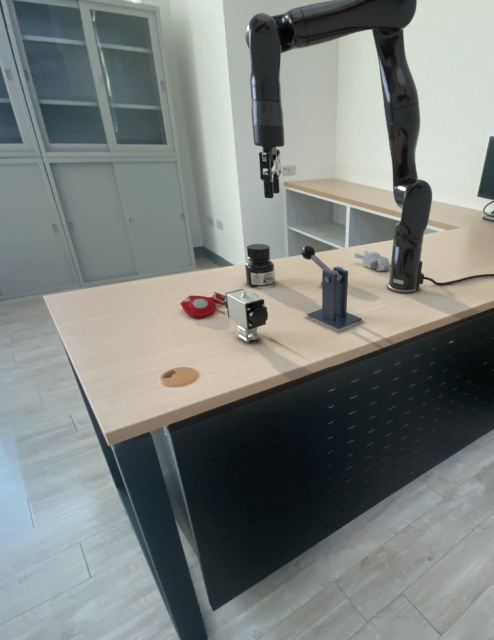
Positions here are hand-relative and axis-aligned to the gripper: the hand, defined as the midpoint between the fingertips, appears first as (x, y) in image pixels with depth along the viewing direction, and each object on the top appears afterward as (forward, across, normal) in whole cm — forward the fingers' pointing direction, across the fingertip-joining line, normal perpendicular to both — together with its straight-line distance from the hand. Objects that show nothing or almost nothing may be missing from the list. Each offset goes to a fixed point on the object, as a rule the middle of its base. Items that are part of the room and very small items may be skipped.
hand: (272, 195), depth 107 cm
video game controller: (+29, +14, -15) cm, 36 cm away
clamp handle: (+16, -11, -13) cm, 23 cm away
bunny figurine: (+29, +36, -29) cm, 55 cm away
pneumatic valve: (+29, -28, +2) cm, 40 cm away
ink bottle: (+29, +11, +8) cm, 32 cm away
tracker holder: (+29, -13, +18) cm, 36 cm away
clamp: (+29, -14, -18) cm, 37 cm away
